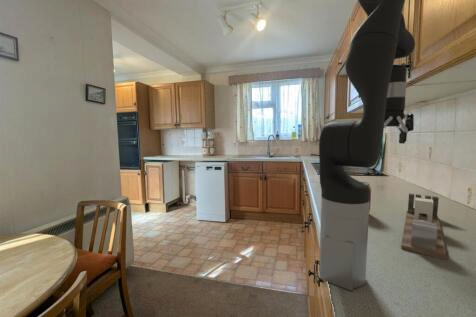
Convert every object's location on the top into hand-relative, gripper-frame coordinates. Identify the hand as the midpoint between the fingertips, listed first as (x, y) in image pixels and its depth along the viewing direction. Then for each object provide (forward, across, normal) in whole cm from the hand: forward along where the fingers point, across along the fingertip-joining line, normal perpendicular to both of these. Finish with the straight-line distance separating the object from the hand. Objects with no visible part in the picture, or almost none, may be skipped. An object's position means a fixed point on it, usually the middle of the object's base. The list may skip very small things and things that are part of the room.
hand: (389, 143), depth 82 cm
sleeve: (+24, +5, -11) cm, 27 cm away
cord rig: (+27, +4, -13) cm, 30 cm away
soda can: (+27, -8, +4) cm, 29 cm away
